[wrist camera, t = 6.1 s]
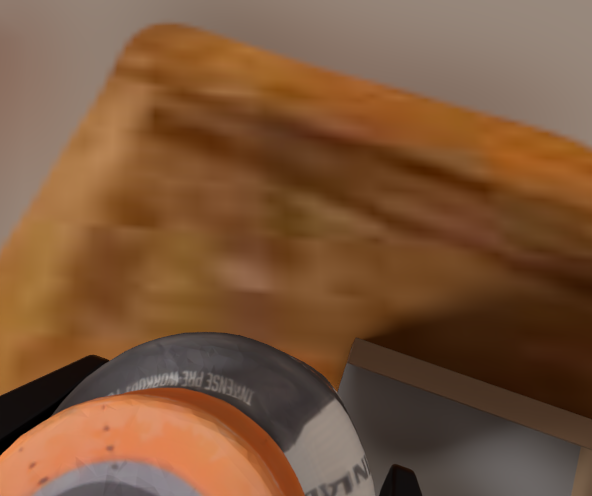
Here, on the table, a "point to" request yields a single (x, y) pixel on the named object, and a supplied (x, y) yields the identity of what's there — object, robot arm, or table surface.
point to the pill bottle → (194, 428)
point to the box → (461, 430)
